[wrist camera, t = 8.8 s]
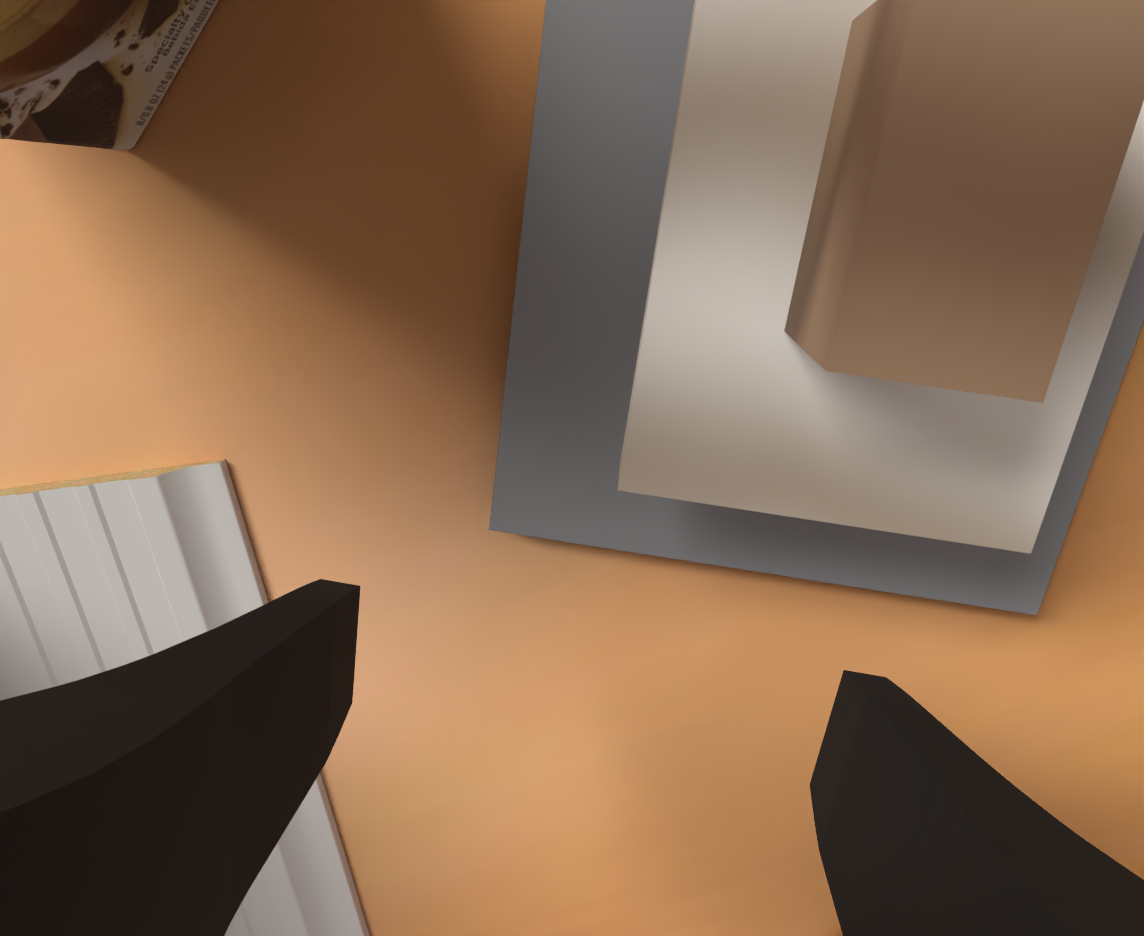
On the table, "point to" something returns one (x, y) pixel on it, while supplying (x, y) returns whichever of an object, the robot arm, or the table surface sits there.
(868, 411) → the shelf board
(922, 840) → the robot arm
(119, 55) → the coffee box
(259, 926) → the baseboard molding
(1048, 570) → the peg stand
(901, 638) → the table surface
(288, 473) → the table surface
